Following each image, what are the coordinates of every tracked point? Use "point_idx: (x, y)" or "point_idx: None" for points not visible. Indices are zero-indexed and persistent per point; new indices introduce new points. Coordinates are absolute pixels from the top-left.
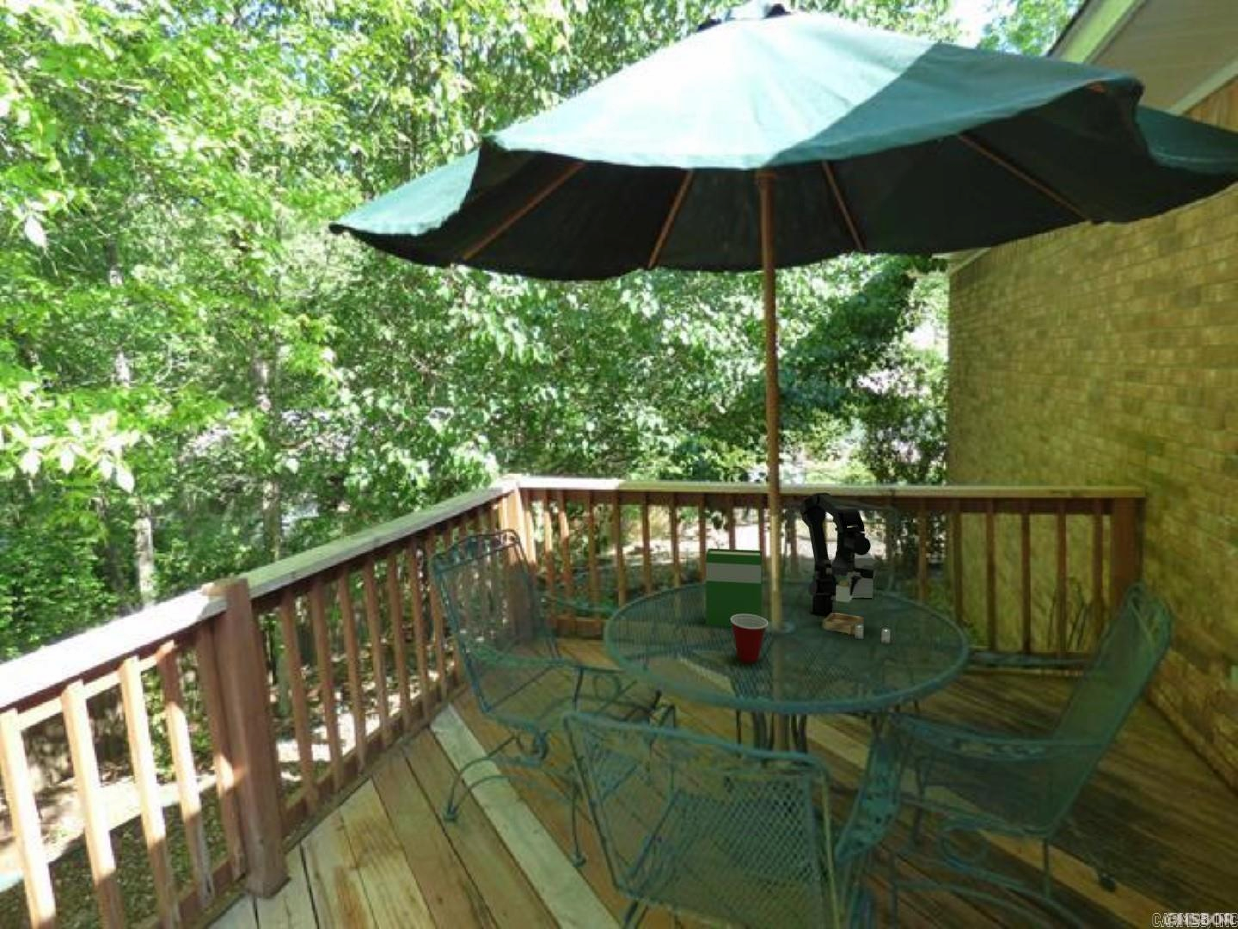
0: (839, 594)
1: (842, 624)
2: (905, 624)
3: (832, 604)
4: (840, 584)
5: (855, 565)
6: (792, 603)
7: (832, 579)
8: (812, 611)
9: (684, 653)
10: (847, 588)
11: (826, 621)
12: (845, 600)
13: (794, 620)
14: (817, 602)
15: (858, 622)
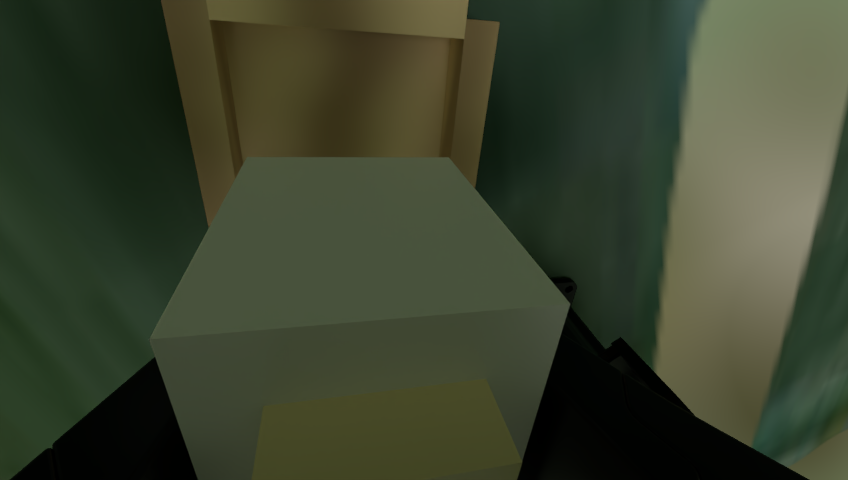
0: (417, 199)
1: (307, 18)
2: (3, 397)
3: None
4: (470, 398)
5: None
6: (654, 355)
7: (761, 474)
8: (568, 293)
9: None
10: (215, 303)
11: (465, 41)
12: (295, 164)
13: (663, 119)
14: (575, 334)
15: (199, 156)
